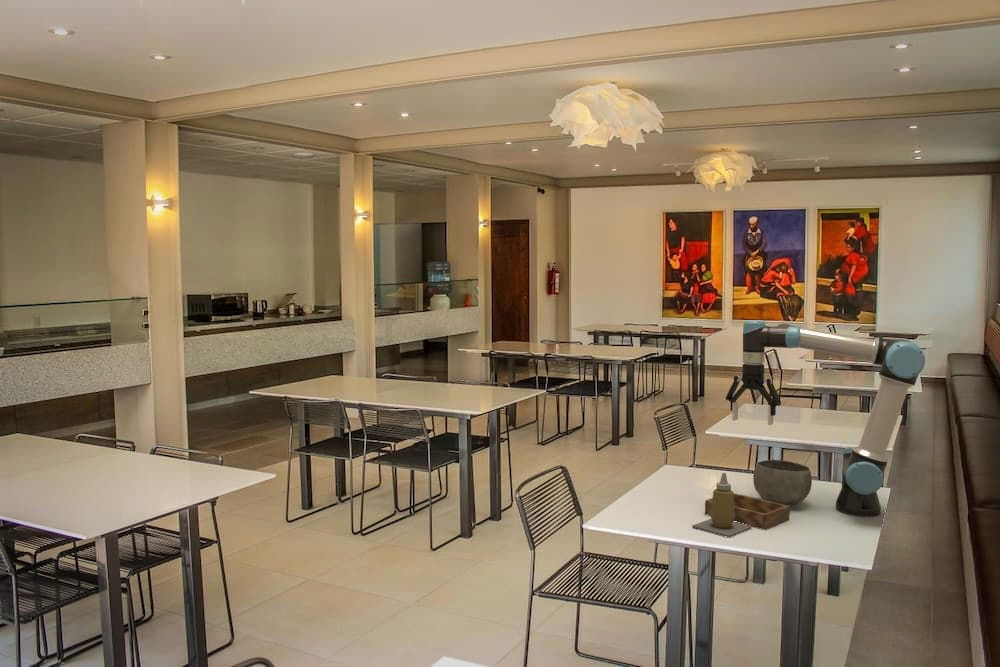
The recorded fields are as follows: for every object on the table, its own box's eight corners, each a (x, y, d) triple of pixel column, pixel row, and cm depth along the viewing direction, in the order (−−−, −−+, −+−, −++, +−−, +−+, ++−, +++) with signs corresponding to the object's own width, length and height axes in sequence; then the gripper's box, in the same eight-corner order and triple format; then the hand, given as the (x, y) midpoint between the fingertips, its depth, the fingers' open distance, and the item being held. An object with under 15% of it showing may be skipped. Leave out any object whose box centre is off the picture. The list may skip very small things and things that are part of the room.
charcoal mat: (751, 529, 278) (751, 526, 278) (729, 537, 268) (729, 535, 268) (714, 519, 288) (714, 517, 288) (692, 527, 278) (692, 525, 278)
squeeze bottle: (717, 530, 273) (718, 476, 272) (705, 523, 281) (707, 470, 279) (739, 529, 275) (741, 475, 273) (727, 521, 283) (729, 469, 281)
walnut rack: (789, 520, 288) (789, 505, 288) (765, 529, 277) (766, 515, 277) (729, 505, 305) (729, 492, 305) (704, 514, 294) (705, 500, 293)
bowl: (800, 515, 294) (802, 473, 293) (744, 505, 306) (745, 465, 305) (817, 503, 310) (819, 463, 309) (763, 493, 323) (765, 455, 322)
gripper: (716, 362, 302) (715, 419, 304) (782, 366, 285) (781, 427, 287) (726, 360, 308) (725, 416, 309) (791, 365, 291) (790, 425, 292)
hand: (752, 422), depth 298 cm, fingers open, 13 cm apart
